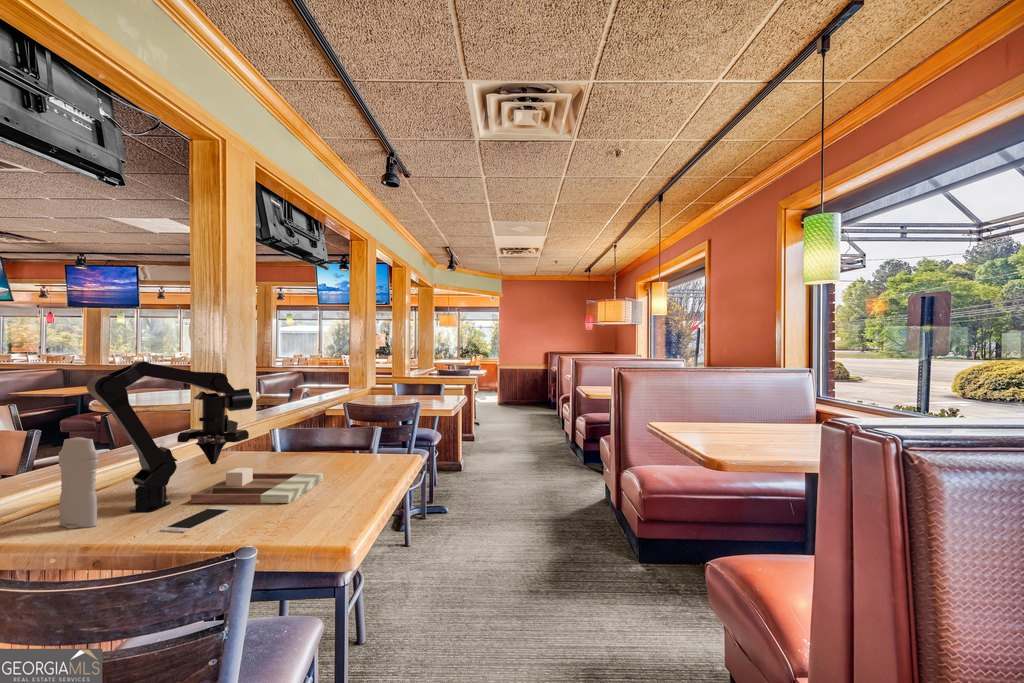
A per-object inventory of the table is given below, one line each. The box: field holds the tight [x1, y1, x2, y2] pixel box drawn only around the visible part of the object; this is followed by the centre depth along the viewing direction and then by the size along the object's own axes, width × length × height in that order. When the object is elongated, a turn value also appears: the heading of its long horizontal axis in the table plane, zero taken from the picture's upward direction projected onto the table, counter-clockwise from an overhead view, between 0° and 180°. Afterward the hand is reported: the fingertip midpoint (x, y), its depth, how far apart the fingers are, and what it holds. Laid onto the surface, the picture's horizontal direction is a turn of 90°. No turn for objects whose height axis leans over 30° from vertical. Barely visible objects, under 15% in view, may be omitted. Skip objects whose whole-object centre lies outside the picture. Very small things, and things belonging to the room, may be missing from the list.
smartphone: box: [160, 505, 236, 533], centre depth 112 cm, size 7×16×1 cm, turn 171°
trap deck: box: [190, 472, 324, 504], centre depth 133 cm, size 21×28×2 cm
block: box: [225, 467, 254, 486], centre depth 133 cm, size 5×5×4 cm
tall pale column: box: [58, 436, 99, 530], centre depth 109 cm, size 11×4×22 cm, turn 84°
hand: (213, 464), depth 134 cm, fingers closed
